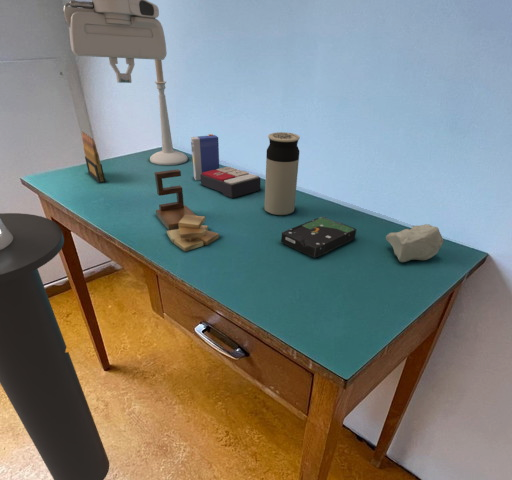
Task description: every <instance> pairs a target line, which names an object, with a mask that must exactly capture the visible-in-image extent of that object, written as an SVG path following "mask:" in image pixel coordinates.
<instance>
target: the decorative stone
mask: <svg viewBox="0 0 512 480" xmlns="http://www.w3.org/2000/svg"><path fill="white" fill-rule="evenodd" d="M385 241H386V242H388V243H389V244H390V245H391V247H392V249H393V254H394V255H395V256H396V257H397V260H398V261H399V263H406V262H409V261H414V260H415V261H427V260H429V259H431V258H433V257H434V256H436V255H437V254H438V253H439V252H440V249H441V248H442V246H443V244H444V238H443V236H442V233H441V232H440V229H439V227H438V226H433V225H431V224H427V223H426V224H421V225H412V227H411V228H410V229H409V228H404V229H402V230H400V231H397V232H388V233H387V235H386V236H385Z"/></svg>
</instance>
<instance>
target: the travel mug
mask: <svg viewBox="0 0 512 480" xmlns="http://www.w3.org/2000/svg"><path fill="white" fill-rule="evenodd" d="M267 137H268V141H269V145H268V146H267V148H266V156H265V157H266V158H265V159H266V160H265V180H264V181H265V182H264V183H265V185H264V186H265V187H264V211H265V212H267V213H269V214H271V215H275V216H287V215H289V214H292V213H294V211H295V208H296V196H297V195H296V194H297V184H298V172H299V163H300V149H299V147H298V144H299V140H300V135H298V134H296V133H292V132H286V131H285V132H282V131H281V132H280V131H279V132H278V131H277V132H272V133H270V134H268V135H267Z"/></svg>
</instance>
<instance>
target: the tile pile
mask: <svg viewBox="0 0 512 480" xmlns="http://www.w3.org/2000/svg"><path fill="white" fill-rule="evenodd" d="M195 215H196V214H195ZM195 215H184V217H183V218H182V219H181V220H180V221H179V222H178V225H179V229H176V230H166V235H167V236H168V239H169V240H170V242H171V243H172V244H173V245H175V246H177V247H178V248H179V249H180V250H182V251H183V252H189V251H191V250H195V249H198V248H200V247H204V245H205V246H208V245H210V244H212V243H213V242H215V241H217V240H218V239H219V238H220V233H217V232H214V231H211V230H209V226H208V225H203V224H204V223H205V222H206V216H203V215H196V216H195Z"/></svg>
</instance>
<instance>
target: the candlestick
mask: <svg viewBox="0 0 512 480" xmlns="http://www.w3.org/2000/svg"><path fill="white" fill-rule="evenodd" d="M162 61H163V60H154V65H155V74H156V81H154V83H155V84H156V89H157V90H158V103H159V105H158V106H159V118H160V132H161V133H160V135H161V147H162V148H161V150H160V151H157V152H154V153H153V154H152V155H150V157H149V161H150V163H152V164H154V165H159V166H176V165H182V164H184V163H186V162H187V161H188V156H187V155H186V154H185V153H183V152H182V151H178V150H174V146H173V140H172V133H171V132H172V131H171V126H170V119H169V113H168V106H167V100H166V94H165V90H166V83H167V81H165V80H164V71H163V63H162Z"/></svg>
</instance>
